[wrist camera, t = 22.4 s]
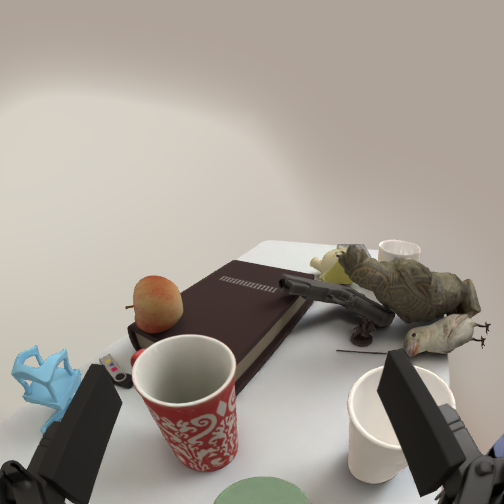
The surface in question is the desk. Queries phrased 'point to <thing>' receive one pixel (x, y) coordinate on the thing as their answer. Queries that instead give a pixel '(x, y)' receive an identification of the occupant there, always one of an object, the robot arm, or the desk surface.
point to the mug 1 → (191, 397)
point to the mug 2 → (398, 250)
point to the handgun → (336, 297)
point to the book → (236, 314)
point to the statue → (410, 286)
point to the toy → (331, 267)
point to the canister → (262, 492)
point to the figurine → (363, 335)
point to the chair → (47, 381)
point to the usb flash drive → (116, 372)
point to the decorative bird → (442, 335)
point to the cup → (381, 427)
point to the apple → (156, 304)
